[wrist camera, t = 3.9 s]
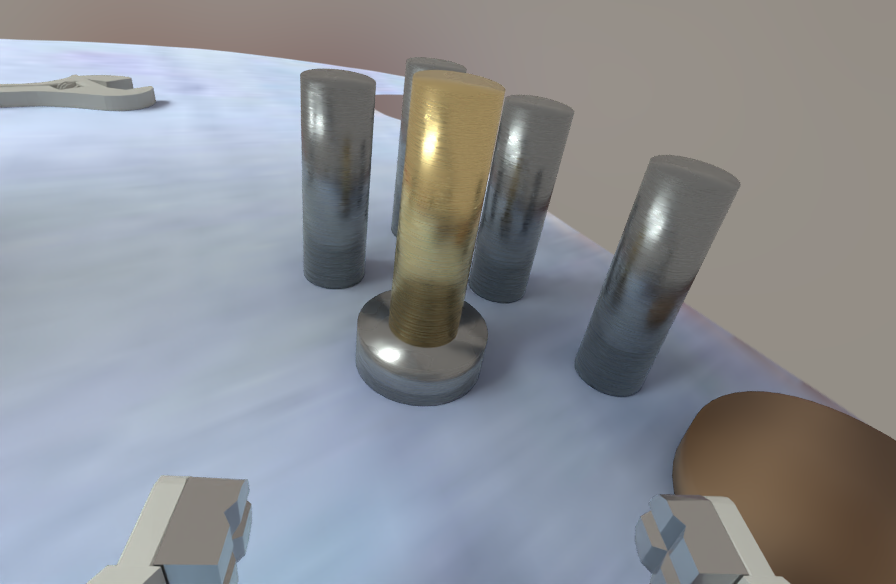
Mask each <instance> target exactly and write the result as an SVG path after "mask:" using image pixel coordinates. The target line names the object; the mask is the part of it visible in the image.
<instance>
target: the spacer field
mask: <svg viewBox="0 0 896 584" xmlns="http://www.w3.org/2000/svg"><path fill="white" fill-rule="evenodd" d="M424 70H446V71H455V72H462V73H466V68H465V67H464V66H462V65H460V64H457V63H453V62H450V61H446V60H441V59H435V58H424V57H415V58H409V59H407V61H406V72H405V83H404V94H403V105H402V116H401V127H400V138H399V149H398V161H397V172H396V183H395V194H394V205H393V216H392V227H391V230H392V233H393V234H394V235H395V236H396V237H397V231H398V221H399V211H400V201H401V191H402V181H403V171H404V161H405V151H406V140H407V130H408V120H409V110H410V100H411V90H412V80H413V74H414V73H416V72H419V71H424ZM300 81H301V140H302V199H303V258H304V275H305V277H306V278H307V280H309V281H310V282H311V283H313V284H315V285H317V286H320V287H325V288H333V289H338V288H346V287H350V286H353V285H355V284H357V283H358V282H360V281H361V280H362V278H363V277H364V270H365V254H366V237H367V221H368V205H369V188H370V172H371V156H372V139H373V123H374V107H375V90H376V82H375V80H374V79H372V78H370V77H368V76H366V75H363V74H360V73H356V72H351V71H345V70H338V69H312V70H307V71H304V72H302V73H301V74H300ZM573 115H574V110H573V109H572V108H570V107H569V106H567V105H565V104H563V103H560V102H557V101H554V100H551V99H547V98H542V97H537V96H529V95H511V96H507V97H506V98H505V102H504V106H503V111H502V116H501V122H500V126H499V132H498V136H497V142H496V147H495V152H494V157H493V162H492V167H491V172H490V177H489V182H488V187H487V192H486V197H485V202H484V207H483V212H482V217H481V222H480V227H479V232H478V237H477V242H476V247H475V253H474V258H473V263H472V268H471V273H470V278H469V285H470V287H471V289H472V290H473V291H474V292H475V293H476V294H478V295H479V296H481V297H483V298H485V299H487V300H491V301H495V302H502V303H508V302H514V301H517V300H519V299H521V298H522V297H523V295H524V293H525V290H526V286H527V282H528V279H529V275H530V271H531V268H532V264H533V261H534V257H535V253H536V250H537V246H538V242H539V239H540V235H541V231H542V228H543V224H544V221H545V217H546V213H547V210H548V206H549V202H550V199H551V195H552V192H553V188H554V184H555V180H556V177H557V173H558V170H559V166H560V162H561V159H562V155H563V151H564V148H565V144H566V141H567V137H568V133H569V130H570V126H571V122H572V119H573ZM739 187H740V182H739V180H738V179H737V178H736V177H734V176H733V175H732V174H730V173H728V172H727V171H725V170H723V169H721V168H719V167H716V166H714V165H711V164H708V163H705V162H702V161H699V160H695V159H691V158H687V157H681V156H674V155H658V156H654V157H652V158H651V159H650V162H649V164H648V167H647V170H646V172H645V175H644V178H643V180H642V183H641V186H640V189H639V191H638V194H637V197H636V199H635V202H634V204H633V207H632V210H631V212H630V215H629V218H628V220H627V223H626V226H625V229H624V231H623V234H622V236H621V239H620V242H619V244H618V247H617V250H616V252H615V255H614V258H613V260H612V263H611V266H610V268H609V271H608V274H607V276H606V279H605V282H604V284H603V287H602V290H601V292H600V295H599V298H598V300H597V303H596V306H595V308H594V311H593V314H592V316H591V319H590V322H589V324H588V327H587V330H586V332H585V335H584V338H583V340H582V343H581V346H580V348H579V351H578V354H577V356H576V359H575V368H576V371H577V373H578V374H579V376H580V377H581V378H582V379H583V380H584V381H585V382H586V383H587V384H588V385H590V386H591V387H592V388H594V389H596V390H598V391H600V392H602V393H605V394H608V395H613V396H630V395H633V394H635V393H637V392H638V391H639V390H640V389H641V387H642V385H643V383H644V381H645V379H646V377H647V375H648V373H649V371H650V369H651V366H652V364H653V362H654V360H655V358H656V356H657V354H658V352H659V350H660V348H661V346H662V344H663V342H664V340H665V338H666V336H667V334H668V332H669V330H670V328H671V326H672V324H673V322H674V320H675V318H676V316H677V314H678V312H679V309H680V307H681V305H682V303H683V301H684V299H685V297H686V295H687V293H688V291H689V289H690V287H691V285H692V283H693V281H694V279H695V277H696V275H697V273H698V271H699V269H700V267H701V265H702V263H703V260H704V259H705V256H706V254H707V252H708V250H709V248H710V246H711V244H712V242H713V240H714V238H715V236H716V234H717V232H718V230H719V228H720V226H721V224H722V222H723V220H724V218H725V216H726V214H727V212H728V210H729V208H730V206H731V203H732V201H733V200H734V198H735V196H736V193H737V191H738V189H739Z"/></svg>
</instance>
